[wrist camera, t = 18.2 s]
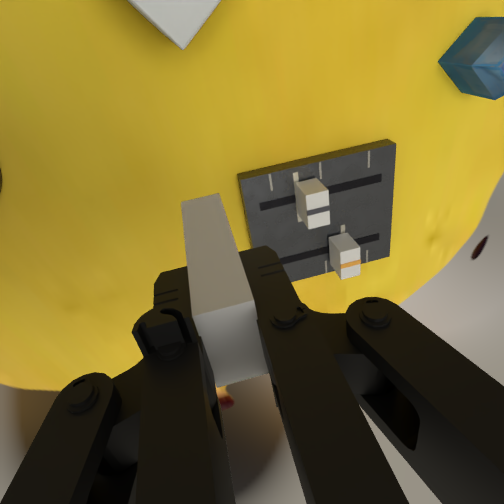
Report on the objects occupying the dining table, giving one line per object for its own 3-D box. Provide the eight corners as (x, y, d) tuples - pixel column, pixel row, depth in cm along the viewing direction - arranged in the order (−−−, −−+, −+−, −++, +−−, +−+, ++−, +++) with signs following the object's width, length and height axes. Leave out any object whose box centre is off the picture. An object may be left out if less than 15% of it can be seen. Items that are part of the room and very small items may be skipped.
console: (257, 281, 60) (261, 290, 58) (237, 174, 50) (240, 180, 48) (382, 248, 62) (389, 256, 60) (387, 138, 52) (396, 143, 50)
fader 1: (298, 215, 52) (308, 230, 48) (294, 182, 49) (305, 196, 46) (318, 210, 52) (330, 224, 49) (316, 177, 50) (329, 190, 46)
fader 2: (329, 263, 58) (341, 280, 54) (328, 237, 55) (340, 252, 51) (348, 258, 58) (360, 275, 54) (347, 232, 55) (361, 247, 52)
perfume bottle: (461, 92, 50) (534, 109, 40) (437, 61, 47) (510, 71, 38) (497, 52, 48) (584, 59, 39) (475, 17, 46) (562, 15, 36)
